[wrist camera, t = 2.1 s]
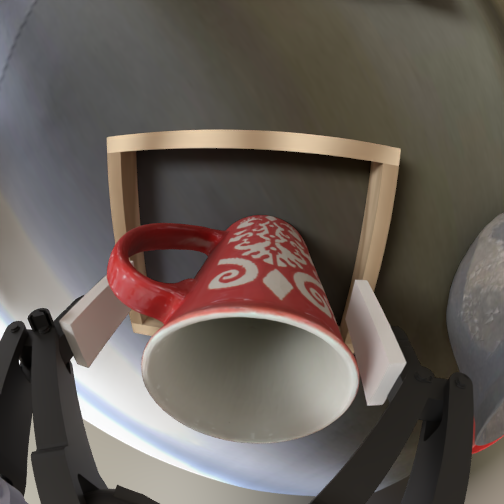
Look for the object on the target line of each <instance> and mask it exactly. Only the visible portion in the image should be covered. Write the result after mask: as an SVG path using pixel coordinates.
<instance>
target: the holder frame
mask: <svg viewBox="0 0 504 504" xmlns="http://www.w3.org/2000/svg"><path fill="white" fill-rule="evenodd" d="M175 148H242V149H264V150H280V151H293V152H304V153H314V154H324V155H332V156H340V157H347V158H354V159H361V160H367V161H371V168H370V177H369V185H368V192H367V199H366V206H365V213H364V219H363V225H362V231H361V236H360V242H359V247H358V252H357V257H356V262H355V267H354V271H353V276H352V280H351V284H350V289H349V293H348V297H347V301H346V305H345V309H344V313H343V316H342V320H341V324H340V326H338V328H339V331H340V334H341V337H342V339H343V342H344V343H345V344H346V345H347V346H348V347H349V349H350V350H351V352H352V353H354V349H353V345H352V341H351V338H350V334H349V330H348V327H347V323H346V320H345V318H346V314H347V310H348V306H349V303H350V299H351V295H352V291H353V286H354V282H355V280H367V281H368V283H369V285H370V286H371V288H372V290H373V292H374V289H375V286H376V282H377V278H378V274H379V270H380V266H381V262H382V258H383V254H384V250H385V245H386V241H387V236H388V231H389V226H390V221H391V215H392V210H393V204H394V198H395V191H396V185H397V177H398V169H399V161H400V151H401V149H399V148H394V147H389V146H384V145H379V144H374V143H368V142H362V141H356V140H350V139H343V138H336V137H328V136H320V135H311V134H301V133H289V132H275V131H256V130H184V131H165V132H151V133H140V134H130V135H121V136H113V137H107V159H108V179H109V193H110V204H111V214H112V222H113V230H114V238H115V244H116V243H117V242H118V240H119V239H120V238H121V237H122V236H123V235H124V234H125V233H127V232H128V231H130V230H132V229H134V228H136V227H139V226H141V225H140V214H139V201H138V184H137V158H136V151H137V150H153V149H175ZM129 260H130V261H133V262H134V267H135V268H136V270H137V271H139V272H140V273H142V274H143V275H145V276H147V275H146V268H145V260H144V252H140V253H137V254H135V255H133V256H131V257H129ZM129 316H130V320H131V324H132V328H133V332H134V333H139V334H144V335H149V336H153V335H154V334H155V333H156V332H157V331H158V330H159V329H160V328H161V327H163V326H164V324H163V322H161V321H159V320H157V319H155V318H152V317H149V316H146V315H143V314H141V313H138V312H136V311H134V310H132V309H131V311H130V312H129Z"/></svg>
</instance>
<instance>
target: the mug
mask: <svg viewBox="0 0 504 504" xmlns="http://www.w3.org/2000/svg"><path fill="white" fill-rule="evenodd" d="M160 249H161V250H165V249H179V250H181V249H183V250H195V251H200V252H203V253H205V254H206V255H207V256H208V258H207V260H206V261H205V262H204V264H203V266H202V267H201V269H200V270H199V272H198V273H197V275H196V276H195V278H194V279H186V280H183V281H181V282H179V283H162V282H158V281H155V280H152V279H150V278H148V277H147V276H145V275H143V274H142V273H140V272H139V271H137V270H136V268H135V267H134V266H133V265H132V264H131V263H130V261H129V257H131V256H133V255H135V254H137V253H140V252H144V251H150V250H160ZM107 280H108V283H109V286H110V288H111V290H112V291H113V293H114V294H115V296H116V297H117V298H118V299H119V300H120V301H121V302H122V303H123V304H125V305H126V306H127V307H129V308H131V309H132V310H134V311H136V312H138V313H141V314H143V315H146V316H149V317H152V318H155V319H157V320H159V321H161V322H163V324H164V326H163V327H161V328H160V329H159V330H158V331H157V332H156V333H155V334H154V335H153V336H152V337H151V338H150V340H149V342H148V343H147V345H146V347H145V349H144V352H143V356H142V363H141V370H142V377H143V381H144V383H145V386H146V388H147V390H148V392H149V393H150V395H151V396H152V398H153V399H154V401H155V402H156V403H157V404H158V405H159V406H160V407H161V408H162V409H163V410H164V411H165V412H166V413H167V414H169V415H170V416H171V417H173V418H174V419H175V420H177V421H178V422H180V423H182V424H184V425H185V426H187V427H189V428H191V429H193V430H196V431H198V432H200V433H203V434H206V435H209V436H212V437H215V438H219V439H223V440H228V441H233V442H241V443H256V444H260V443H276V442H283V441H288V440H293V439H297V438H301V437H304V436H307V435H310V434H312V433H315V432H317V431H319V430H321V429H323V428H325V427H326V426H328V425H329V424H331V423H332V422H334V421H335V420H337V419H338V418H339V417H340V416H341V415H342V414H343V413H344V412H345V411H346V410H347V409H348V408H349V406H350V405H351V403H352V402H353V400H354V398H355V396H356V394H357V391H358V388H359V369H358V365H357V362H356V359H355V357H354V355H353V353H352V352H351V350H350V349H349V347H348V346H347V345H346V344H345V343H344V342H343V339H342V337H341V334H340V331H339V328H338V325H337V323H336V320H335V317H334V315H333V312H332V309H331V307H330V304H329V301H328V299H327V296H326V294H325V292H324V289H323V287H322V284H321V282H320V279H319V277H318V274H317V272H316V269H315V267H314V264H313V262H312V260H311V257H310V254H309V251H308V248H307V246H306V244H305V242H304V240H303V238H302V236H301V235H300V234H299V232H298V231H297V230H296V229H295V228H294V227H293V226H292V225H290V224H289V223H287V222H285V221H284V220H281V219H279V218H276V217H273V216H267V215H254V216H249V217H246V218H243V219H240V220H239V221H237V222H235V223H234V224H232V225H231V226H230V227H229V228H228V229H227V230H226V231H221V230H215V229H210V228H206V227H201V226H194V225H186V224H174V223H154V224H147V225H142V226H139V227H136V228H134V229H132V230H130V231H128V232H127V233H125V234H124V235H123V236H122V237H121V238H120V239H119V240H118V242H117V243H116V244H115V246H114V248H113V250H112V252H111V255H110V259H109V262H108V267H107Z"/></svg>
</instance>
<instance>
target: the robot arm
mask: <svg viewBox="0 0 504 504" xmlns="http://www.w3.org/2000/svg"><path fill="white" fill-rule="evenodd" d="M129 261H130V260H129ZM130 263H131V264H132V265H133V266H134V262H133V261H130ZM130 311H131V308H129V307H127V306H126V305H125V304H123V303H122V302H121V301H120V300H119V299H118V298H117V297H116V296H115V294H114V293H113V291H112V290H111V288H110V286H109V283H108V280H107V275H106V276H105V277H104V278H102V279H101V280H100V281H99V282H98V283H97V284H96V285H95V286H94V287H93V288H92V289H91V290H90V291H89V292H88V293H87V294H86V295H83V296H81V297H79V298H77V299H76V300H75V301H74V302H73V303H72V304H70V306H68V307H67V308H66V310H64V311H63V312H62V313H61V314H60V315H59V316H58V317H57V318H56V319H55V320H54V321H53V320H52V317H51V314H50V312H49V310H48V309H45V308H40V309H37V310H34V311H33V312H31V313H30V315H29V316H28V321H29V323H30V326H31V328H32V330H27V329H26V327H25V325H24V323H23V322H22V321H16V322H13V323H11V324H10V325H9V326H8V327H7V328H6V330H5V332H4V334H3V337H2V339H1V341H0V504H28V503H27V502H26V501H25V499H24V493H25V487H26V477H27V457H28V443H29V435H30V426H31V419H32V413H33V422H34V431H35V439H36V446H37V450H36V451H35V452H32V454H31V461H32V467H33V472H34V477H35V481H36V485H37V490H38V494H39V498H40V501H41V504H159V503H157V502H156V501H154V500H152V499H150V498H148V497H147V496H145V495H143V494H140V493H137V492H135V491H132V490H129V489H126V488H124V487H121V486H119V485H117V487H116V489H108V488H107V486H106V484H105V483H104V481H103V480H102V478H101V477H100V475H99V473H98V471H97V467H96V464H95V462H94V458H93V455H92V452H91V449H90V446H89V442H88V439H87V435H86V431H85V428H84V424H83V420H82V415H81V411H80V406H79V402H78V397H77V391H76V386H75V380H74V374H73V367H72V363H71V361H70V359H71V358H72V357H73V356H74V358H75V360H76V362H77V364H79V365H82V366H84V367H87V368H89V367H90V365H91V364H92V362H93V361H94V359H95V358H96V357H97V355H98V354H99V352H100V351H101V350H102V348H103V347H104V345H105V344H106V343H107V341H108V340H109V339H110V337H111V336H112V335H113V333H114V332H115V331H116V329H117V328H118V327H119V325H120V324H121V323H122V321H123V320H124V319H125V317H126V316H127V315H128V313H129V312H130ZM345 320H346V323H347V327H348V330H349V334H350V338H351V341H352V345H353V349H354V352H355V356H356V360H357V364H358V368H359V372H360V376H361V380H362V384H363V388H364V393H365V397H366V401H367V406H371V405H383V403H384V402H385V400H386V398H387V397H388V400H389V403H390V404H389V405H388V407H387V408H386V410H385V411H384V413H383V414H382V416H381V418H380V419H379V420H378V422H377V423H376V425H375V426H374V428H373V429H372V431H371V432H370V433H369V435H368V436H367V437H366V439H365V440H364V441H363V443H362V444H361V445H360V447H359V448H358V449H357V451H356V452H355V453H354V454H353V456H352V457H351V458H350V459H349V461H348V462H347V463H346V464H345V465H344V467H343V468H342V469H341V470H340V471H339V472H338V473H337V475H336V476H335V477H334V478H333V479H332V480H331V481H330V482H329V483H328V484H327V486H326V487H325V488H324V489H323V490H322V491H321V492H320V493H319V494H318V495H317V496H316V497H315V498H314V499H313V500H312V501H311V502H310V503H309V504H365V503H366V502H367V501H368V499H369V498H370V497H371V495H372V494H373V493H374V491H375V490H376V489H377V487H378V486H379V484H380V483H381V482H382V480H383V479H384V477H385V476H386V474H387V473H388V471H389V470H390V468H391V467H392V465H393V463H394V462H395V460H396V459H397V457H398V455H399V454H400V452H401V450H402V449H403V447H404V445H405V443H406V442H407V440H408V438H409V436H410V434H411V432H412V430H413V428H414V427H415V425H416V423H417V421H418V420H423V423H422V428H421V433H420V438H419V443H418V447H417V452H416V456H415V460H414V464H413V467H412V471H411V474H410V478H409V481H408V484H407V487H406V491H405V494H404V497H403V499H402V502H401V504H464V501H465V496H466V491H467V486H468V479H469V473H470V466H471V456H472V445H473V425H474V400H473V384H472V381H471V379H470V378H469V377H468V376H467V375H466V374H463V373H460V372H456V373H453V374H452V375H451V376H450V378H449V379H448V380H447V379H440V378H435V377H434V374H433V373H432V372H431V370H429V369H428V368H426V367H423V366H421V365H420V362H419V360H418V358H417V356H416V354H415V352H414V350H413V348H412V347H411V344H410V342H409V341H408V338H407V336H406V334H405V332H404V331H403V330H402V329H401V328H400V327H399V326H390V325H389V323H388V321H387V319H386V316H385V314H384V312H383V310H382V308H381V306H380V304H379V302H378V300H377V298H376V296H375V294H374V292H373V290H372V288H371V286H370V285H369V283H368V281H367V280H355V282H354V286H353V291H352V295H351V299H350V303H349V306H348V310H347V314H346V318H345ZM19 360H20V361H21V362H20V365H19Z"/></svg>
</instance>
